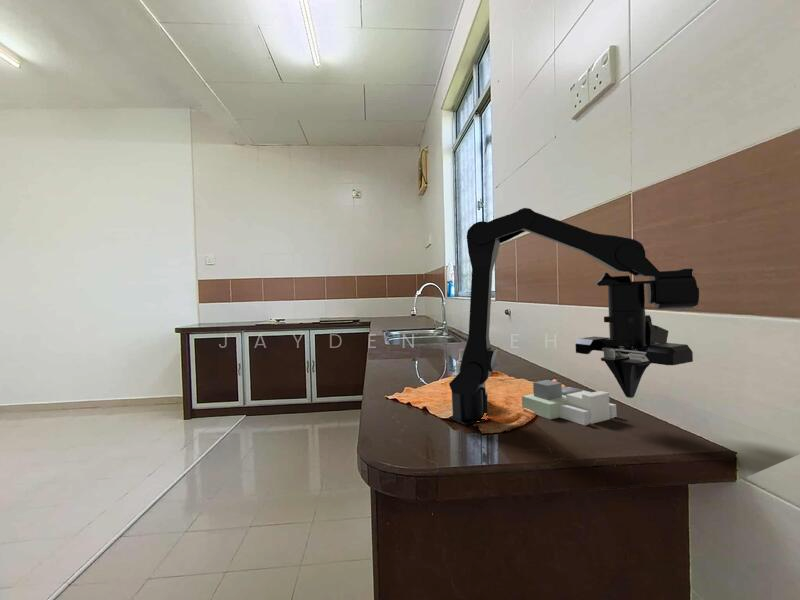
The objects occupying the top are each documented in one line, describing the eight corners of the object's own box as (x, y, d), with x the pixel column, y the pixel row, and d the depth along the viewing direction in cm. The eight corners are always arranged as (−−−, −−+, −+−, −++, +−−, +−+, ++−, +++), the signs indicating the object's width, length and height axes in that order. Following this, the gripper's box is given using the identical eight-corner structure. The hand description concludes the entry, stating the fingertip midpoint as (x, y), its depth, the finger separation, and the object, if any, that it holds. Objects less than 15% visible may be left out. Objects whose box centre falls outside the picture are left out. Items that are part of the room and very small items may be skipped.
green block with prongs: (574, 427, 76) (573, 395, 75) (522, 409, 88) (521, 382, 88) (625, 415, 81) (624, 385, 81) (569, 399, 94) (568, 374, 94)
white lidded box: (592, 424, 77) (590, 396, 77) (566, 416, 83) (565, 390, 83) (610, 419, 80) (608, 392, 80) (584, 412, 85) (583, 387, 85)
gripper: (711, 308, 68) (714, 401, 68) (610, 307, 85) (613, 382, 85) (669, 312, 63) (673, 413, 63) (571, 310, 80) (575, 389, 80)
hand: (630, 397), depth 73 cm, fingers closed
